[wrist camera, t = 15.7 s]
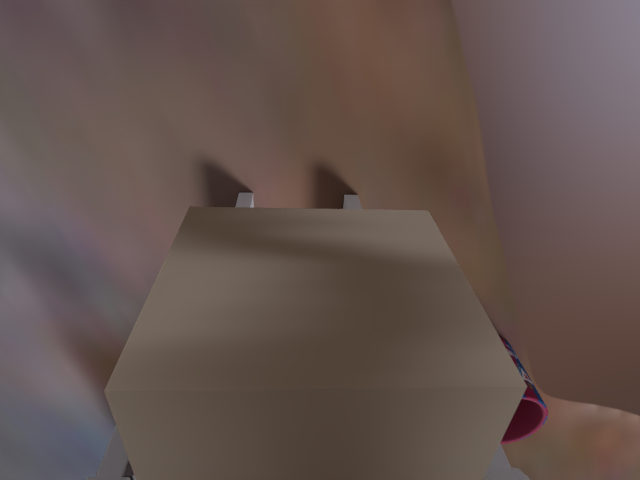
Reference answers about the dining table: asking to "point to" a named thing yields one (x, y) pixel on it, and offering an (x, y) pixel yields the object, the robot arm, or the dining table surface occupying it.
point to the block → (312, 353)
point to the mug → (525, 407)
